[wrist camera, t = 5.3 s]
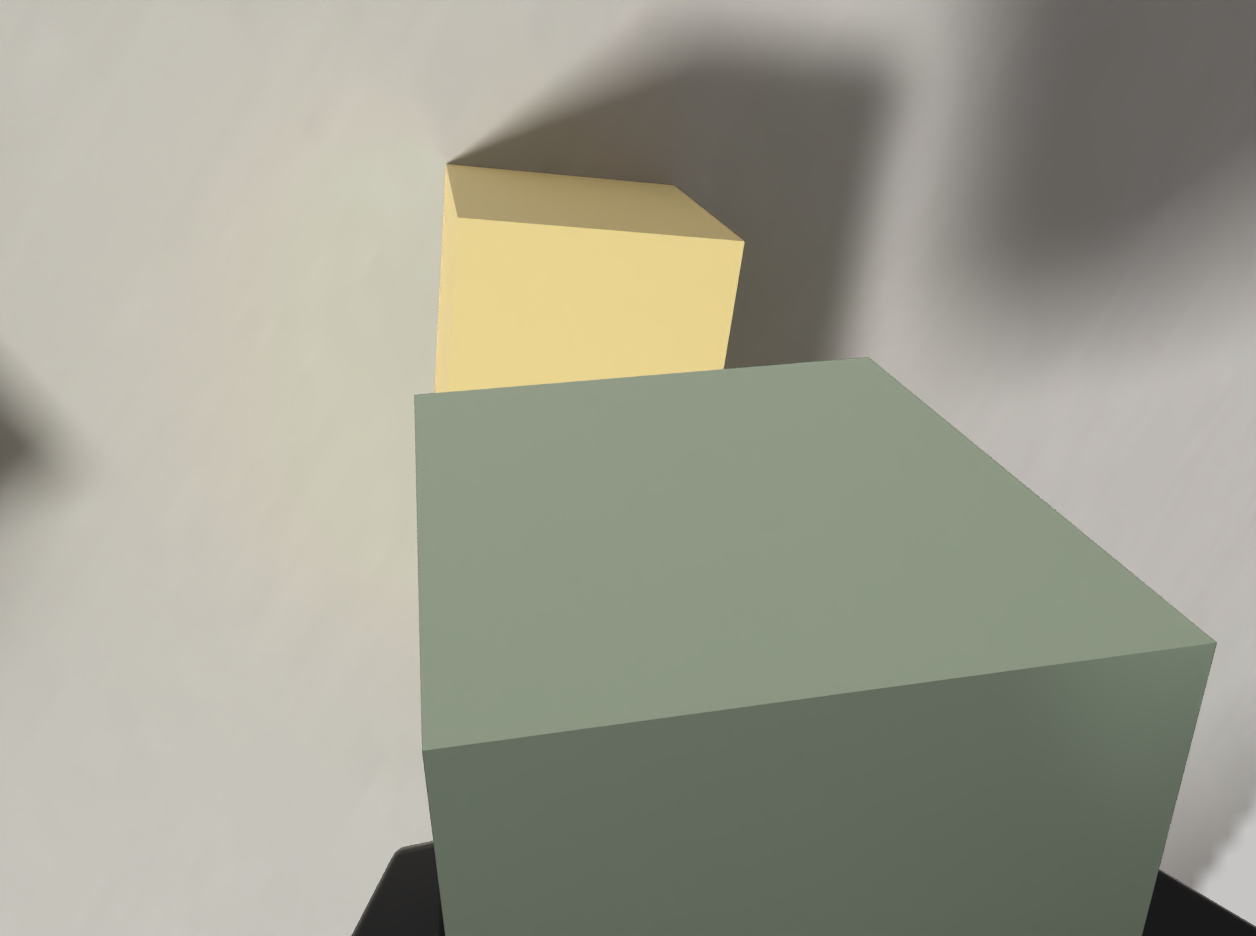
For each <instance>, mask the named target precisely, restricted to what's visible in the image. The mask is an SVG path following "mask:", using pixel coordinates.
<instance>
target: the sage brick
mask: <svg viewBox="0 0 1256 936" xmlns="http://www.w3.org/2000/svg"><path fill="white" fill-rule="evenodd" d="M414 407H415V452H416V498H417V543H418V588H419V634H420V679H421V724H422V754H423V762H424V770H425V778H426V786H427V794H428V802H429V810H430V818H431V826H432V834H433V842H434V850H435V858H436V866H437V874H438V881H439V889H440V897H441V905H442V913H443V921H444V929H445V936H1142V933H1143V929H1144V925H1145V921H1146V917H1147V913H1148V909H1149V906H1150V902H1151V898H1152V894H1153V890H1154V886H1155V882H1156V878H1157V874H1158V870H1159V867H1160V863H1161V859H1162V855H1163V851H1164V847H1165V843H1166V839H1167V835H1168V831H1169V828H1170V824H1171V820H1172V816H1173V812H1174V808H1175V804H1176V800H1177V796H1178V793H1179V789H1180V785H1181V781H1182V777H1183V773H1184V769H1185V765H1186V761H1187V757H1188V754H1189V750H1190V746H1191V742H1192V738H1193V734H1194V730H1195V726H1196V722H1197V718H1198V715H1199V711H1200V707H1201V703H1202V699H1203V695H1204V691H1205V687H1206V683H1207V680H1208V676H1209V672H1210V668H1211V664H1212V660H1213V656H1214V652H1215V648H1216V644H1217V642H1216V641H1215V640H1213V639H1212V638H1211V637H1210V636H1208V635H1207V634H1206V633H1205V632H1204V631H1202V630H1201V629H1200V628H1199V627H1197V626H1196V625H1195V624H1194V623H1193V622H1191V621H1190V620H1189V619H1188V618H1186V617H1185V616H1184V615H1183V614H1182V613H1180V612H1179V611H1178V610H1177V609H1175V608H1174V607H1173V606H1172V605H1171V604H1169V603H1168V602H1167V601H1166V600H1164V599H1163V598H1162V597H1161V596H1160V595H1158V594H1157V593H1156V592H1155V591H1154V590H1152V589H1151V588H1150V587H1149V586H1147V585H1146V584H1145V583H1144V582H1143V581H1141V580H1140V579H1139V578H1138V577H1136V576H1135V575H1134V574H1133V573H1132V572H1130V571H1129V570H1128V569H1127V568H1125V567H1124V566H1123V565H1122V564H1121V563H1119V562H1118V561H1117V560H1116V559H1114V558H1113V557H1112V556H1111V555H1110V554H1108V553H1107V552H1106V551H1105V550H1103V549H1102V548H1101V547H1100V546H1099V545H1097V544H1096V543H1095V542H1094V541H1092V540H1091V539H1090V538H1089V537H1088V536H1086V535H1085V534H1084V533H1083V532H1082V531H1080V530H1079V529H1078V528H1077V527H1075V526H1074V525H1073V524H1072V523H1071V522H1069V521H1068V520H1067V519H1066V518H1064V517H1063V516H1062V515H1061V514H1060V513H1058V512H1057V511H1056V510H1055V509H1053V508H1052V507H1051V506H1050V505H1049V504H1047V503H1046V502H1045V501H1044V500H1042V499H1041V498H1040V497H1039V496H1038V495H1036V494H1035V493H1034V492H1033V491H1031V490H1030V489H1029V488H1028V487H1027V486H1025V485H1024V484H1023V483H1022V482H1020V481H1019V480H1018V479H1017V478H1016V477H1014V476H1013V475H1012V474H1011V473H1009V472H1008V471H1007V470H1006V469H1005V468H1003V467H1002V466H1001V465H1000V464H999V463H997V462H996V461H995V460H994V459H992V458H991V457H990V456H989V455H988V454H986V453H985V452H984V451H983V450H981V449H980V448H979V447H978V446H977V445H975V444H974V443H973V442H972V441H970V440H969V439H968V438H967V437H966V436H964V435H963V434H962V433H961V432H959V431H958V430H957V429H956V428H955V427H953V426H952V425H951V424H950V423H948V422H947V421H946V420H945V419H944V418H942V417H941V416H940V415H939V414H937V413H936V412H935V411H934V410H933V409H931V408H930V407H929V406H928V405H927V404H925V403H924V402H923V401H922V400H920V399H919V398H918V397H917V396H916V395H914V394H913V393H912V392H911V391H909V390H908V389H907V388H906V387H905V386H903V385H902V384H901V383H900V382H898V381H897V380H896V379H895V378H894V377H892V376H891V375H890V374H889V373H887V372H886V371H885V370H884V369H883V368H881V367H880V366H879V365H878V364H876V363H875V362H874V361H873V360H872V359H870V358H869V357H865V358H853V359H841V360H828V361H816V362H804V363H792V364H780V365H768V366H756V367H744V368H732V369H720V370H708V371H696V372H683V373H671V374H659V375H647V376H635V377H623V378H611V379H599V380H587V381H575V382H563V383H551V384H538V385H526V386H514V387H502V388H490V389H478V390H466V391H454V392H442V393H430V394H418V395H414Z"/></svg>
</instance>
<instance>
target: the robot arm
mask: <svg viewBox="0 0 1256 936" xmlns="http://www.w3.org/2000/svg"><path fill="white" fill-rule="evenodd" d="M352 936H445V929H444V921H443V913H442V905H441V897H440V889H439V881H438V874H437V866H436V858H435V850H434V842H433V841H430V842H425V843H420V844H415V845H410V846H405V847H402V848H400V849H399V850H398V851H396V852H395V854H394V855H393V857H392V859H391V860H390V862H389V864H388V866H387V868H386V870H385V872H384V874H383V876H382V878H381V880H380V882H379V884H378V885H377V887H376V889H375V891H374V893H373V895H372V897H371V899H370V901H369V903H368V905H367V907H366V909H365V911H364V912H363V914H362V916H361V918H360V920H359V922H358V924H357V926H356V928H355V930H354V932H353V934H352ZM1142 936H1256V926H1254V925H1252V924H1251V923H1249V922H1247V921H1246V920H1244V919H1242V918H1240V917H1239V916H1237V915H1235V914H1234V913H1232V912H1230V911H1229V910H1227V909H1225V908H1224V907H1222V906H1220V905H1218V904H1217V903H1215V902H1214V901H1212V900H1210V899H1209V898H1207V897H1205V896H1203V895H1202V894H1200V893H1198V892H1197V891H1195V890H1193V889H1192V888H1190V887H1188V886H1187V885H1185V884H1183V883H1182V882H1180V881H1178V880H1177V879H1175V878H1173V877H1172V876H1170V875H1168V874H1166V873H1165V872H1163V871H1161V870H1160V869H1159V870H1158V874H1157V878H1156V882H1155V886H1154V890H1153V894H1152V898H1151V902H1150V906H1149V909H1148V913H1147V917H1146V921H1145V925H1144V929H1143V933H1142Z"/></svg>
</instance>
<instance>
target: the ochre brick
mask: <svg viewBox="0 0 1256 936" xmlns="http://www.w3.org/2000/svg"><path fill="white" fill-rule="evenodd" d="M744 242H745V241H744V240H742V239H741V238H740V237H739V236H737V235H736V234H735V233H733V232H732V231H731V230H730V229H728V228H727V227H726V226H725V225H723V224H722V223H721V222H720V221H718V220H717V219H716V218H715V217H713V216H712V215H711V214H710V213H708V212H707V211H706V210H705V209H703V208H702V207H701V206H700V205H698V204H697V203H696V202H694V201H693V200H692V199H691V198H689V197H688V196H687V195H686V194H684V193H683V192H682V191H681V190H679V189H678V188H677V187H676V186H674V185H665V184H655V183H644V182H633V181H623V180H612V179H601V178H591V177H580V176H569V175H559V174H548V173H537V172H527V171H516V170H505V169H495V168H484V167H473V166H463V165H452V164H446V175H445V195H444V215H443V235H442V255H441V275H440V294H439V314H438V334H437V354H436V374H435V393H442V392H454V391H466V390H478V389H490V388H502V387H514V386H526V385H538V384H551V383H563V382H575V381H587V380H599V379H611V378H623V377H635V376H647V375H659V374H671V373H683V372H696V371H708V370H720V369H724V364H725V358H726V352H727V346H728V340H729V334H730V328H731V321H732V315H733V309H734V303H735V297H736V291H737V285H738V279H739V273H740V267H741V261H742V255H743V249H744Z"/></svg>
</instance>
